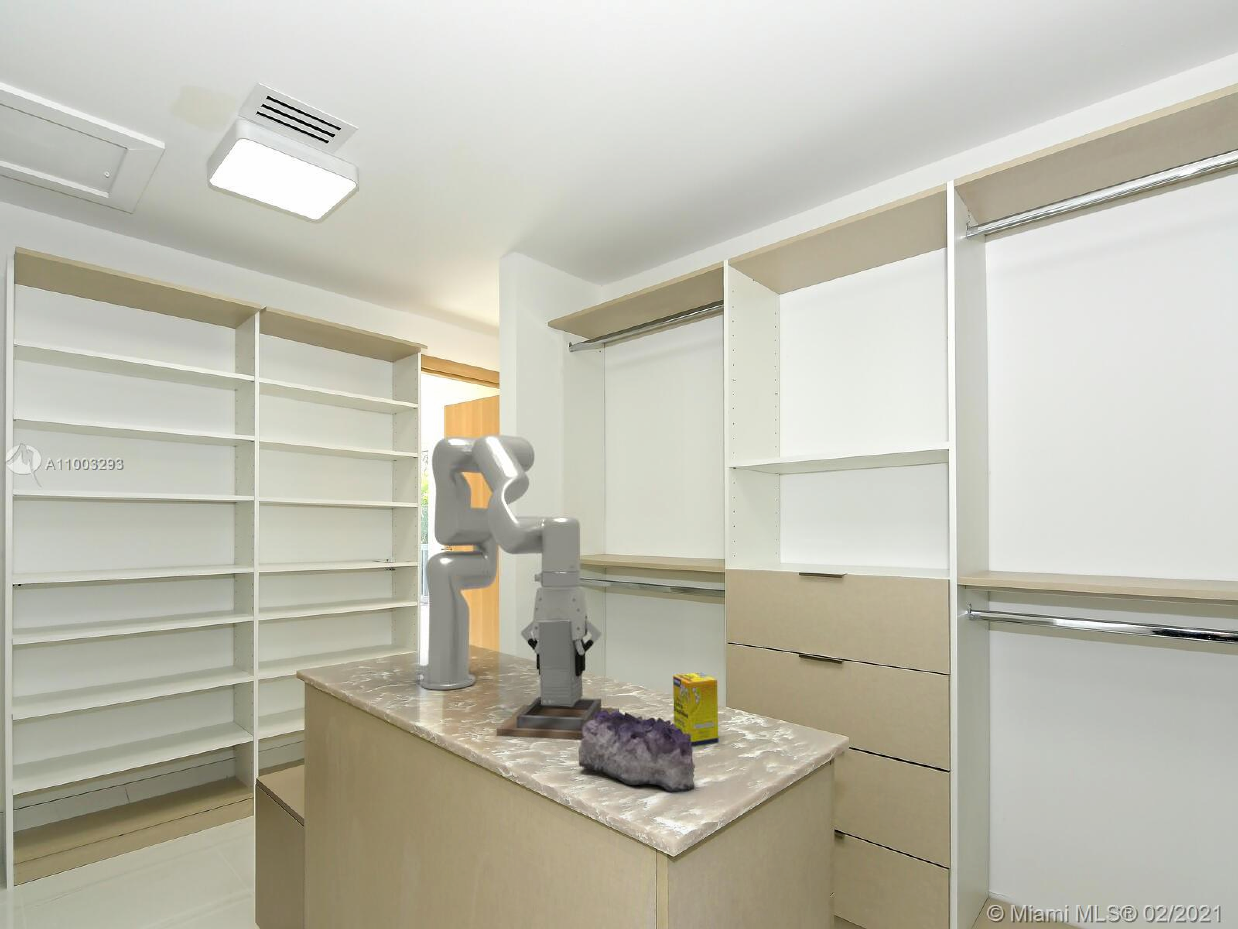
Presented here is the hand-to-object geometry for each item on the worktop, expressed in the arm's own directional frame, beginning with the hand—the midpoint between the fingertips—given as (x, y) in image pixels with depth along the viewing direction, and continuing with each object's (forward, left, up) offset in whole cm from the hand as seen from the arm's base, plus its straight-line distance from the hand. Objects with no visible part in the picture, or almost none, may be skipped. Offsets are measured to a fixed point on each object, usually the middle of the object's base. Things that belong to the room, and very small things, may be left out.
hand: (560, 673), depth 126 cm
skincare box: (0, 0, -5) cm, 5 cm away
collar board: (0, 0, -10) cm, 10 cm away
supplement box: (+26, -5, -10) cm, 28 cm away
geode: (+18, -22, -10) cm, 30 cm away
